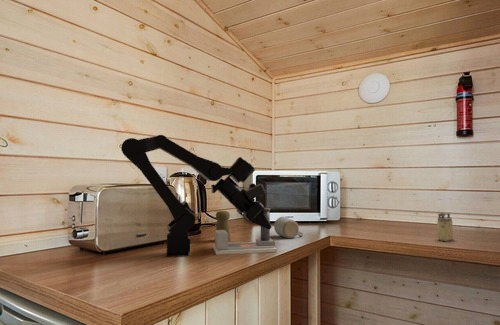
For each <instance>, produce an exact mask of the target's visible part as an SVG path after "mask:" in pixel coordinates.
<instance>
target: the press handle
mask: <svg viewBox="0 0 500 325" xmlns="http://www.w3.org/2000/svg"><path fill="white" fill-rule="evenodd" d="M270 211H271V207H264V216H265V217H266V219H267V220H268V222H269V224H270V225H271V222H270V221H271V219H270V218H271V216H270V214H271V213H270ZM270 231H271V229H267V228H264V227H262V226H260V238H255V242H256V244H257V245H258V246H274V247H276V242H275V240H273V239H272V238H271V236H270V234H271V232H270Z"/></svg>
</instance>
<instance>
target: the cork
mask: <svg viewBox="0 0 500 325" xmlns="http://www.w3.org/2000/svg"><path fill="white" fill-rule="evenodd" d="M230 214H231V213H230V212H229V211H227V210H219V211H217V212H216V213H215V219H216V228H215V230H225V231H226V232H227V233H228V243H231V241H232V238H231V232H230V224H229V223H230V222H229V219H230V217H231V216H230Z"/></svg>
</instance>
